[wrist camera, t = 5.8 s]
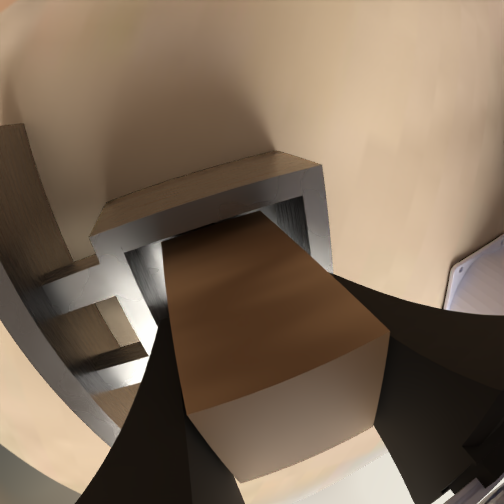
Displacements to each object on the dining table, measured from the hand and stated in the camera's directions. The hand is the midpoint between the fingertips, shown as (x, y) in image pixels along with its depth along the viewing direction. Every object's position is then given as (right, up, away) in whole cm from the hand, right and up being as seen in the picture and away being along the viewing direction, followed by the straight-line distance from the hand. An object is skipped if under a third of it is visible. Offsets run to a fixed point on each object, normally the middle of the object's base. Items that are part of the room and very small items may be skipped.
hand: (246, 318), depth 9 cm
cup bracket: (-3, +1, +4) cm, 5 cm away
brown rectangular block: (-1, +1, +2) cm, 3 cm away
